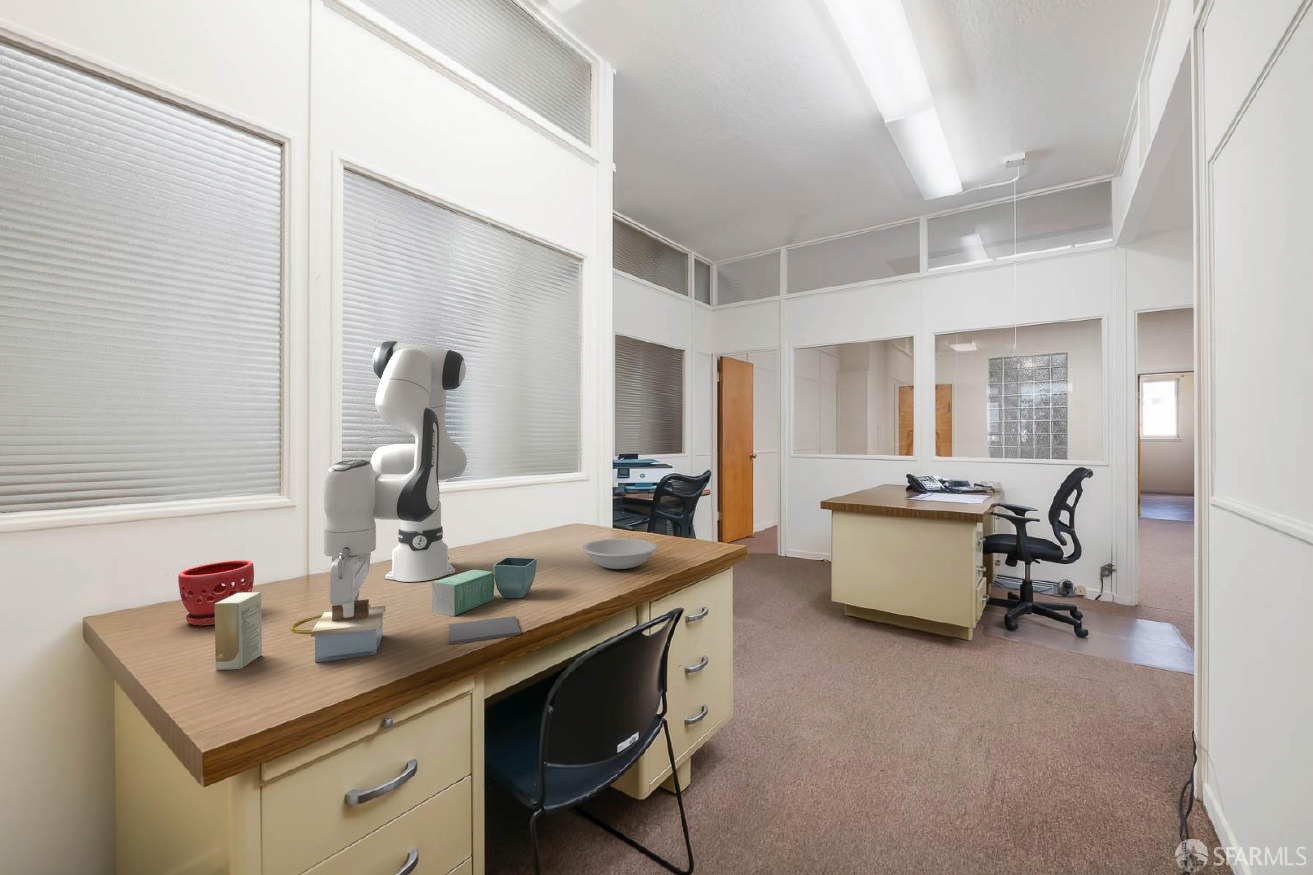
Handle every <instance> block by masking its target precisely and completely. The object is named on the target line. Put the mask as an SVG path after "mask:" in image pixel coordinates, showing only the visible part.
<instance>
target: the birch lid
mask: <svg viewBox="0 0 1313 875" xmlns="http://www.w3.org/2000/svg"><path fill="white" fill-rule="evenodd" d="M369 601H370V599H368V598H367V599H358V600H357V601H354V605H355V613H354V615H353V616H352V617H346V618H345V617H344V616H343V607H342V604H339V605H332V604H331V611H324V612H323V614H321V615H322V616H321V617H320V618H319V619H318V621H317V622H316V624H315V625H314V627H313V628H312V629H311V630H312V631H311V634H310V638H315V636H324V635H332V634H340V633H349V632H357V631H365V630H373V629H379V626H380V624H381V621H382V618H384V615H385V612H386V605H379V606H377V605H376V606H370V607H369V605H370V602H369Z"/></svg>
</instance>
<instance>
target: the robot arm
mask: <svg viewBox="0 0 1313 875" xmlns="http://www.w3.org/2000/svg"><path fill="white" fill-rule="evenodd" d="M372 366H373V372H374V374H375V375H376V376H377V377H378V378H379V379H380V380H379V384H378V388H377V391H376V393H375V394H376V395H375V400H374V402H375V404H374V405H375V406H374V407H375V408H376V409H375V410H376V412H377V413H378V415H379V416H380V418H381V419H382V420H383V421H385V422H386V423H388V424H389V425H390V426H391V427H394V428H395V429H397V430H400V431H403V432H406V433H407V434H410V435H412V436H414V443H394V444H389V445H384V446H380V447H378V448H376V450H375V451H374V452H373V454H372V456H371V459H370V461H369V460H366V459H349V460H342V461H337V462H335V463H333V464H331V465H329V467H328V469H327V471H326V476H325V480H324V488H323V510H324V512H325V517H326V519H325V523H324V527H323V554H324V555H325V556H326V557H331V566H330V573H329V595H328V596H329V604H331V606H332V605H339V604H342V607H343V616H344V617H345V618H346V617H352V616H353V615H354V613H355V605H354V601H357V600H359V597H360V589H361V588H362V586H363V584H364V583H365V581H366V579H367V577H368V575H369V571H370V565H371V564H370V563H371V556H372V555H371V554H372V552H374V551H376V549H377V525H376V524H377V523H376V520H386V521H388V520H389V521H390V520H391V521H392V520H394V521H395V520H397V521H398V520H399V529H398V533H397V538H398V539H397V540H398V544H397V546H395V547H394V548H393V549H392V557H391V558H392V561H391V564H392V566H391V567H392V568H391V570H390V571H389V572H388V573H386V574H385V580H393V581H397V582H403V583H405V582H406V583H409V582H410V583H414V582H425V581H431V580H435V579H439V578H442V577H445V576H447V575H452V574H455V573H456V568H455V567H454V566H453V565H452V564H451V563H450V561H449V560H450V557H449V546H448V545H447V544H446V543H445V542H444V540H443V538H444V530H443V528H444V527H443V526H442V502H441V501H440V485H439V481H443V480H444V481H445V480H450V479H455V478H458V477H460V476H462V474H463V473H464V471H465V470H466V468H467V464H468V460H467V459H468V458H467V455H466V452H465V451H464V449H463V448H462V447H461V446H460V445H458V444H457V443H455V441H453V439H452V438H451V436H450V435H449V434H448V431H447V428H446V406H447V391H451V390H456V389H458V388H460V386H461V385H462V383H463V381H464V380H465V377H466V374H467V373H466V372H467V368H466V367H467V366H466V363H465V358H464V357H463V355H462V354H461V353H459V352H457V351H454V350H451V349H448V350H447V349H443V348H440V347H438V346H433V345H428V344H417V343H406V342H398V341H394V340H393V341H391V340H390V341H383V342H381V343H380V344H378V345H377V347H376V349H375V351H374V353H373V356H372Z"/></svg>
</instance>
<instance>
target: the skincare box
mask: <svg viewBox="0 0 1313 875" xmlns="http://www.w3.org/2000/svg"><path fill="white" fill-rule="evenodd" d="M262 626H263V624H262V592H261V591H260V592H259V591H257V592H256V591H252V592H246V593H236V594H234V595H232V596H230V597H228V598H225V599H223V600H221V601H219V602H217V603H215V624H214V632H215V633H214V636H215V637H214V645H215V646H214V648H215V650H214V651H215V652H214V654H215V670H217V671H223V670H224V671H225V670H241V669H243V668H244V667H247V665H249V664H251V662H253V661H254V660H256V659H257V658H259V657H260V656H261V655H263V640H262V639H263V628H262Z"/></svg>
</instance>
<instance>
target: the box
mask: <svg viewBox="0 0 1313 875" xmlns="http://www.w3.org/2000/svg"><path fill="white" fill-rule="evenodd" d="M431 586H432V594H431V595H432V596H431V598H432V602H431V603H432V604H431V609H432V610H431V612H432V613H433V614H438V615H443V616H449V617H455V616H457V615H460V614H462V613H465V612H467V611H470V610H472V609H474V608H477V607H480V606H482V605H485V604H487V603H490V602H492V601H494V599H495V598H494V597H495V576H494V571H489V570H481V569H470V570H467V571H464V572H461V573H458V574H454V575H451V576H448V577H445V578H442V579H439V580H435V581H433V582H432V585H431Z"/></svg>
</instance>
